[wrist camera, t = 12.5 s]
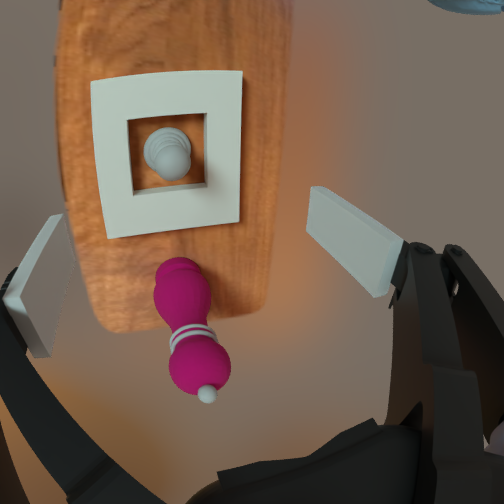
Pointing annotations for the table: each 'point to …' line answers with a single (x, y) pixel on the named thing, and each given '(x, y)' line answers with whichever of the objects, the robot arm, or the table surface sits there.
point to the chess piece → (168, 153)
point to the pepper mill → (190, 329)
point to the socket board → (160, 104)
